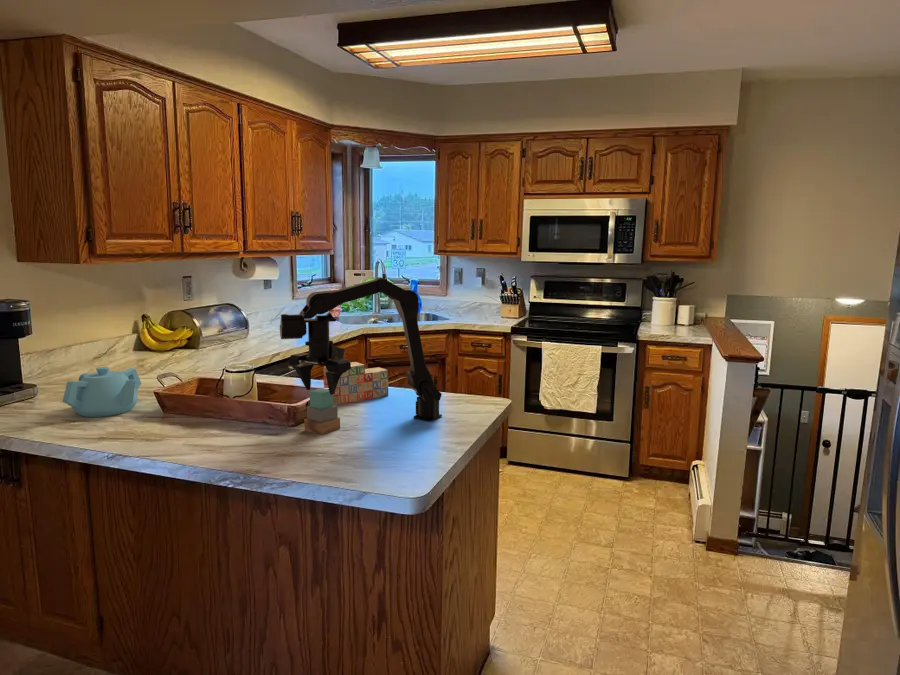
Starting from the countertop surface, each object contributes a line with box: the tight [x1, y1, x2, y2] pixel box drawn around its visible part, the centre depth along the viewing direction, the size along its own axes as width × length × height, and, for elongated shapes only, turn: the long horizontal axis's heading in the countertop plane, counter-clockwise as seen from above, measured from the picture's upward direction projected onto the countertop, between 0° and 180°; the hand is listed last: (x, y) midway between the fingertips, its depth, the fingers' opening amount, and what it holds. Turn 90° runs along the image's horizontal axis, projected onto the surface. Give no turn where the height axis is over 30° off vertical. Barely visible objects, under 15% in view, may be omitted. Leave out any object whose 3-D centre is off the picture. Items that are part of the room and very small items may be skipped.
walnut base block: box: [303, 416, 341, 436], centre depth 165 cm, size 7×7×4 cm
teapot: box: [62, 366, 142, 418], centre depth 182 cm, size 19×19×14 cm
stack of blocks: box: [322, 361, 389, 406], centre depth 198 cm, size 21×6×12 cm, turn 126°
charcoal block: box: [306, 405, 339, 423], centre depth 165 cm, size 6×6×4 cm
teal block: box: [308, 387, 333, 409], centre depth 164 cm, size 4×4×4 cm
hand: (320, 392), depth 165 cm, fingers open, 9 cm apart
